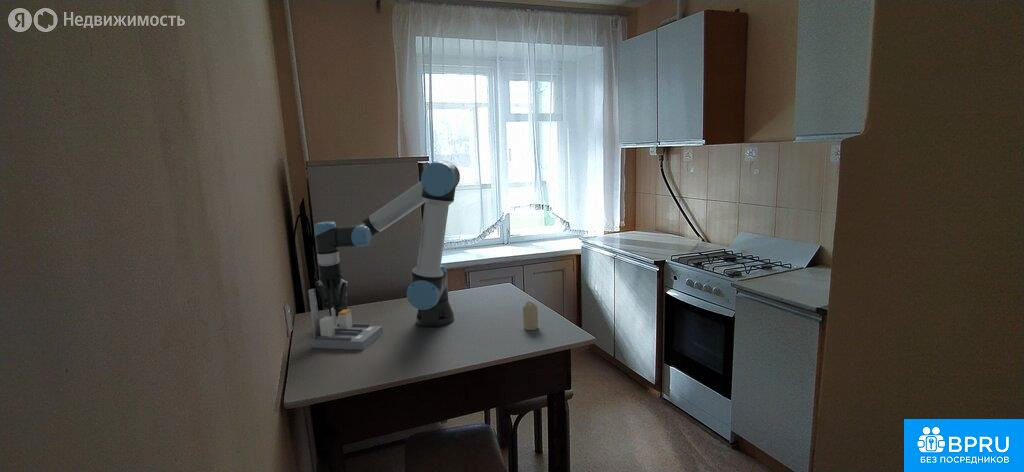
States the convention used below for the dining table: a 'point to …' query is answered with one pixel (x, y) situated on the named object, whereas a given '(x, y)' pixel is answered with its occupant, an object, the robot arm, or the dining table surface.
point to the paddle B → (327, 326)
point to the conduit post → (314, 313)
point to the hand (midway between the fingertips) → (336, 323)
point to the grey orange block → (345, 319)
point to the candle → (530, 316)
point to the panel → (349, 337)
